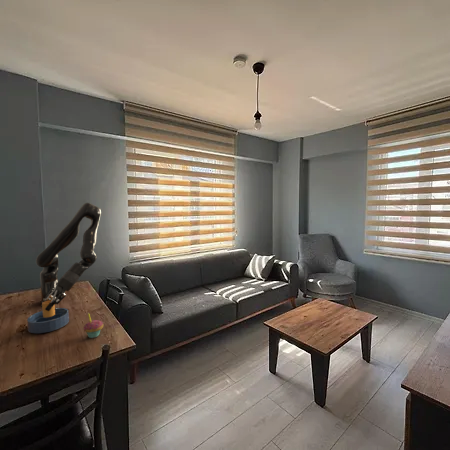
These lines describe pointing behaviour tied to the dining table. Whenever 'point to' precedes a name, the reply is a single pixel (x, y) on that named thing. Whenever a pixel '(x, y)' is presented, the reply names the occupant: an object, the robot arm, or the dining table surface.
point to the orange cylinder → (45, 312)
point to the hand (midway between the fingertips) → (44, 308)
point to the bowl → (48, 321)
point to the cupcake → (93, 327)
